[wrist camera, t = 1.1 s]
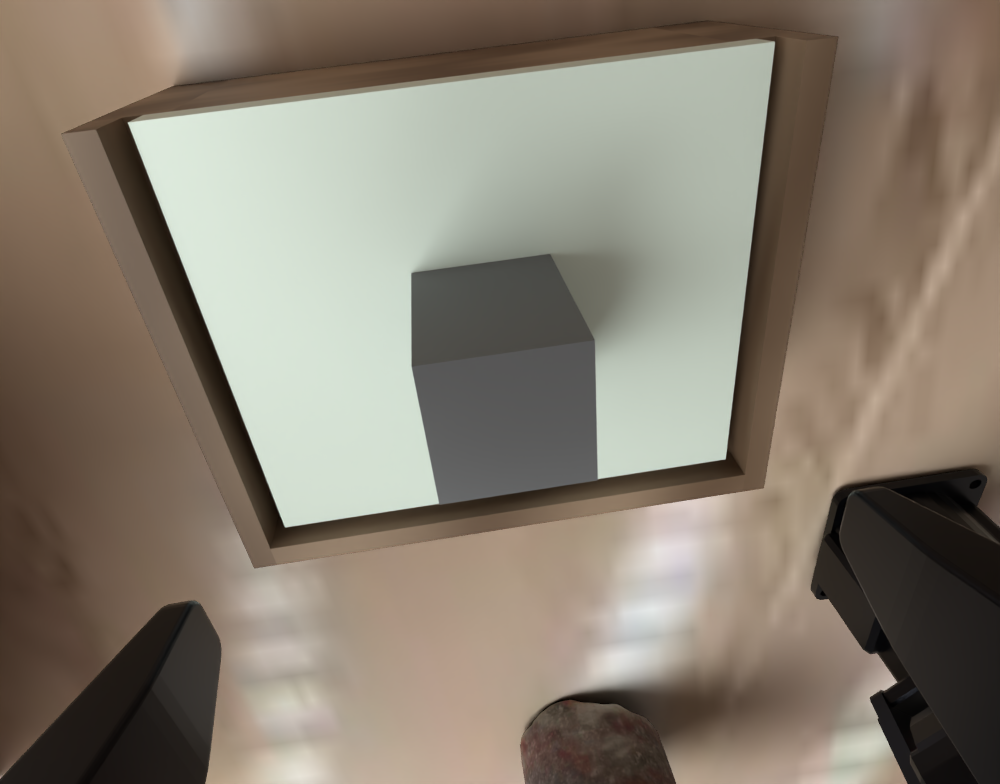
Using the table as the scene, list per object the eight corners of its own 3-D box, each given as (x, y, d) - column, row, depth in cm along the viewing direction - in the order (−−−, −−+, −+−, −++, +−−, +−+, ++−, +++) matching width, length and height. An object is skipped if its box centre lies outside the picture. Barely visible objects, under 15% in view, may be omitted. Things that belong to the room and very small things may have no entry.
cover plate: (755, 38, 13) (915, 63, 9) (714, 441, 18) (800, 571, 14) (143, 115, 12) (12, 179, 8) (289, 507, 18) (254, 661, 14)
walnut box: (707, 20, 17) (838, 36, 12) (683, 374, 23) (763, 488, 18) (171, 86, 16) (60, 133, 11) (290, 432, 22) (254, 567, 17)
